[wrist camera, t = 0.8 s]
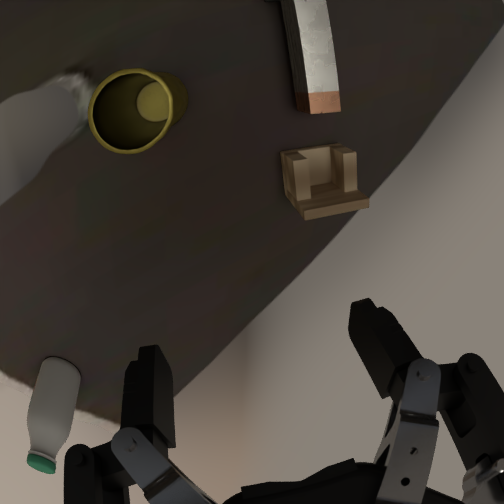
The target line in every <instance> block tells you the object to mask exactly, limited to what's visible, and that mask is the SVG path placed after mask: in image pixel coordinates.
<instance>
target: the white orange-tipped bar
mask: <svg viewBox="0 0 504 504" xmlns="http://www.w3.org/2000/svg"><path fill="white" fill-rule="evenodd" d="M280 2H281V7H282V13H283V18H284V24H285V30H286V36H287V42H288V48H289V55H290V61H291V68H292V75H293V82H294V90H295V97H296V105H297V110H298V111H301V112H305V113H309V114H317V113H328V112H340V111H341V108H340V97H339V87H338V78H337V70H336V62H335V54H334V47H333V40H332V34H331V27H330V21H329V16H328V10H327V4H326V0H280Z"/></svg>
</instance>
